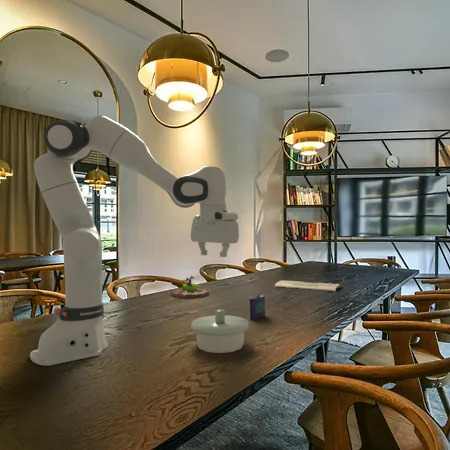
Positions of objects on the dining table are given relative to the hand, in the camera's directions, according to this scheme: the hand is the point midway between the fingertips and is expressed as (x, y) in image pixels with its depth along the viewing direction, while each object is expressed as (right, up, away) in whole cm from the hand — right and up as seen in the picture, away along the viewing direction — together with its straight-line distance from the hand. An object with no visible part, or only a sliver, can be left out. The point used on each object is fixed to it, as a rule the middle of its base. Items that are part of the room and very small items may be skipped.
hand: (213, 256), depth 119 cm
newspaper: (+55, -29, +101) cm, 119 cm away
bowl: (+2, -29, -2) cm, 29 cm away
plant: (-16, -29, +80) cm, 87 cm away
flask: (+18, -29, +31) cm, 46 cm away
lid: (+2, -23, -2) cm, 23 cm away
